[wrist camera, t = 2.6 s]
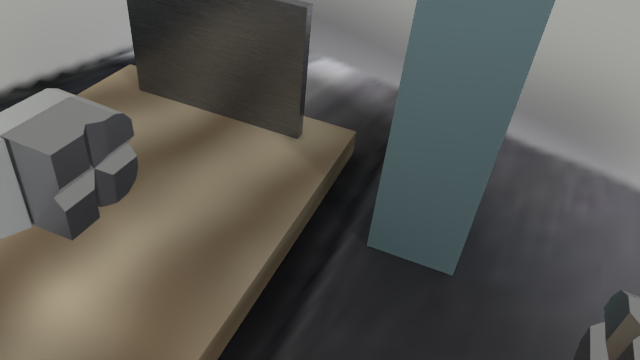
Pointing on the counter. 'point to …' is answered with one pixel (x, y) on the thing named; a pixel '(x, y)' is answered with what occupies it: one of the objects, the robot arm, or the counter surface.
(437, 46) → the tall teal pillar
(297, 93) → the bookend
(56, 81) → the counter surface
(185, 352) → the shelf board
